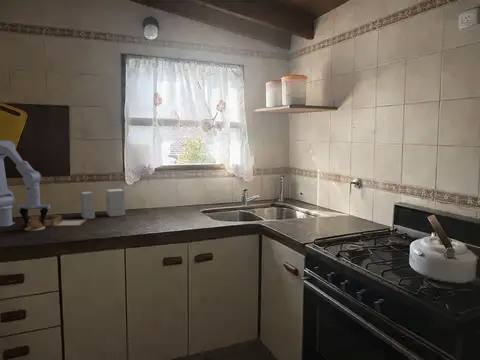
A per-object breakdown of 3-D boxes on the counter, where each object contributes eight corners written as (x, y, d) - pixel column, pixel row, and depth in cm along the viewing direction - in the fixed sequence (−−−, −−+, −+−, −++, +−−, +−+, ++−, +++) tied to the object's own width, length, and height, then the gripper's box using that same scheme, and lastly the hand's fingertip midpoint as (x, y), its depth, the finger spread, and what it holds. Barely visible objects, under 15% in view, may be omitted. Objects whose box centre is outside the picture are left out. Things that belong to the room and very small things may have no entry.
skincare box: (95, 218, 221) (94, 192, 219) (83, 219, 218) (82, 193, 216) (91, 216, 228) (90, 190, 226) (80, 217, 225) (79, 191, 223)
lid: (55, 227, 200) (54, 225, 200) (62, 221, 213) (62, 220, 213) (79, 226, 202) (79, 225, 202) (85, 221, 215) (85, 219, 214)
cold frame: (27, 227, 198) (26, 221, 198) (36, 222, 211) (36, 215, 211) (54, 227, 200) (53, 220, 200) (62, 221, 213) (61, 215, 212)
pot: (28, 228, 192) (27, 216, 192) (33, 226, 198) (32, 214, 197) (40, 228, 193) (39, 216, 192) (44, 225, 198) (44, 214, 198)
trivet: (21, 232, 190) (21, 230, 189) (29, 227, 198) (29, 225, 198) (41, 231, 191) (41, 229, 191) (47, 227, 200) (47, 225, 200)
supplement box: (121, 212, 239) (121, 188, 237) (125, 215, 231) (124, 190, 229) (106, 214, 234) (105, 189, 232) (109, 216, 226) (108, 191, 225)
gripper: (14, 197, 188) (15, 225, 189) (46, 197, 190) (47, 224, 191) (20, 195, 195) (21, 222, 196) (51, 195, 197) (52, 221, 198)
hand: (34, 223), depth 194 cm, fingers open, 7 cm apart
